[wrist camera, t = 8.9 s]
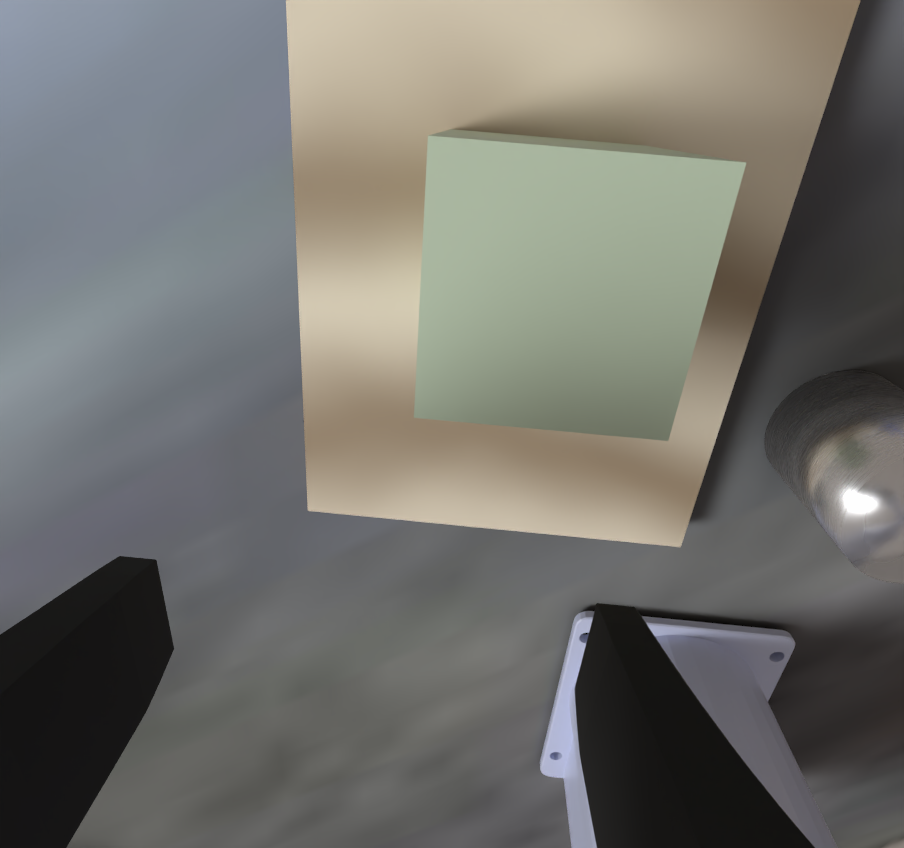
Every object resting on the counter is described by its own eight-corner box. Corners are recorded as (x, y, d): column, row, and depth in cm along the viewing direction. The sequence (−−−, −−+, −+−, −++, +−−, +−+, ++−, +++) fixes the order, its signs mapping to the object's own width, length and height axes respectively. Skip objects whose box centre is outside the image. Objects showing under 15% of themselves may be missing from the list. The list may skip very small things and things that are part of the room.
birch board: (670, 524, 20) (680, 546, 19) (317, 489, 20) (307, 510, 19) (900, -215, 12) (942, -249, 10) (292, -265, 12) (273, -303, 11)
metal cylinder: (872, 491, 19) (974, 590, 15) (747, 479, 19) (816, 575, 15) (928, 376, 17) (1062, 455, 13) (789, 363, 17) (881, 437, 13)
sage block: (606, 331, 16) (668, 441, 10) (438, 316, 16) (414, 417, 10) (645, 145, 14) (746, 163, 8) (451, 129, 14) (427, 135, 8)
